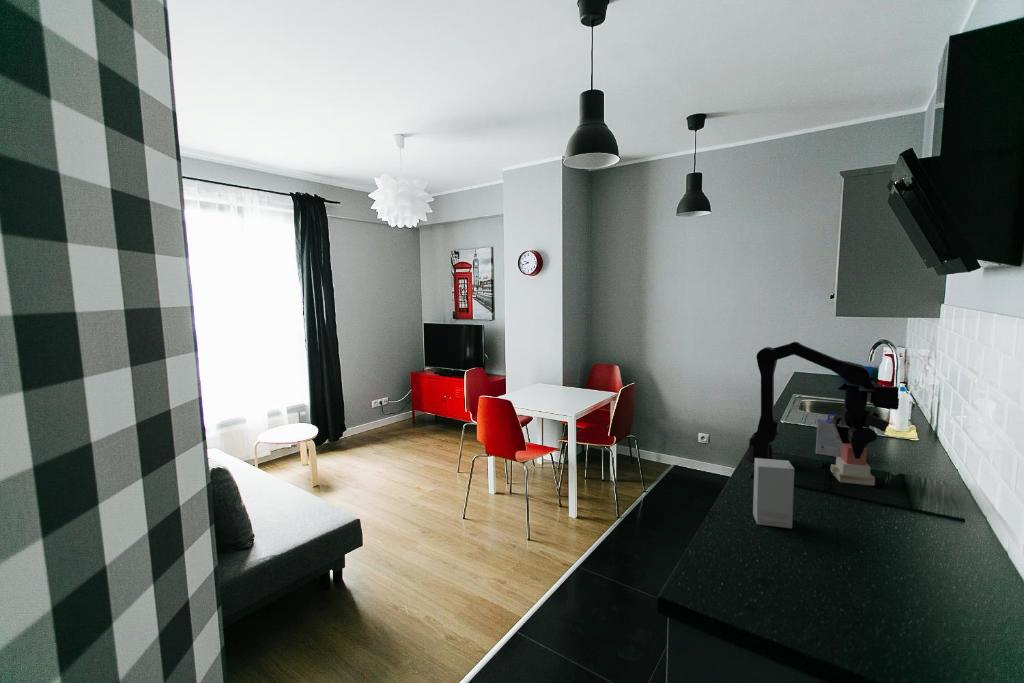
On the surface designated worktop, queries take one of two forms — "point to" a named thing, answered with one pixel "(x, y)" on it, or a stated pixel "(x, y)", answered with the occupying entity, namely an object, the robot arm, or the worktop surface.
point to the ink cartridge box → (828, 438)
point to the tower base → (852, 477)
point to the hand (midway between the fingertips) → (851, 453)
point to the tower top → (852, 468)
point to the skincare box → (773, 492)
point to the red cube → (852, 455)
